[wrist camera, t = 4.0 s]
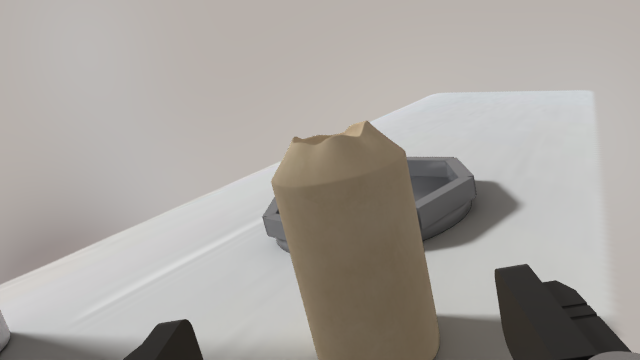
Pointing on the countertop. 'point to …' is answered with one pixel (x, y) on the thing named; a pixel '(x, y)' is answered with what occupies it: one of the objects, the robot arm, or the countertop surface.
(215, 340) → the countertop surface
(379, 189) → the candle
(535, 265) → the countertop surface
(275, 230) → the saucer
